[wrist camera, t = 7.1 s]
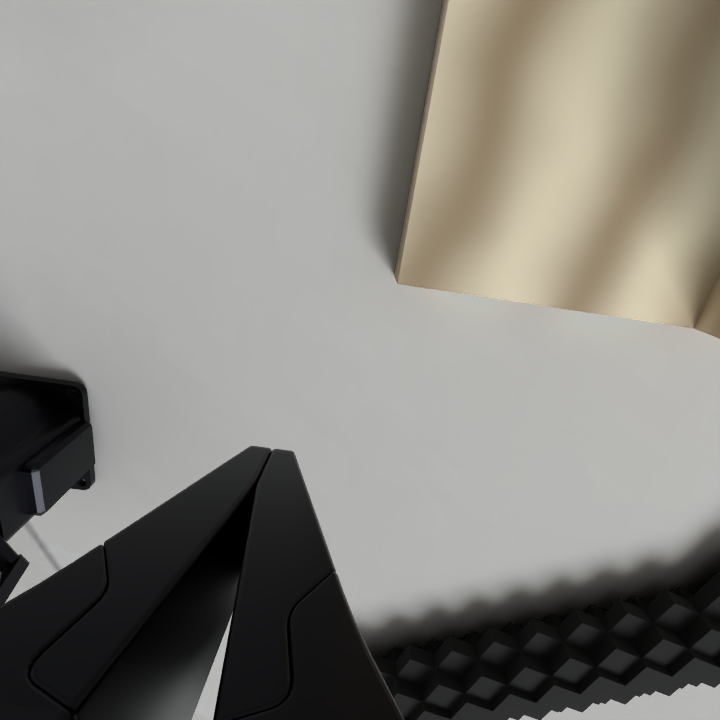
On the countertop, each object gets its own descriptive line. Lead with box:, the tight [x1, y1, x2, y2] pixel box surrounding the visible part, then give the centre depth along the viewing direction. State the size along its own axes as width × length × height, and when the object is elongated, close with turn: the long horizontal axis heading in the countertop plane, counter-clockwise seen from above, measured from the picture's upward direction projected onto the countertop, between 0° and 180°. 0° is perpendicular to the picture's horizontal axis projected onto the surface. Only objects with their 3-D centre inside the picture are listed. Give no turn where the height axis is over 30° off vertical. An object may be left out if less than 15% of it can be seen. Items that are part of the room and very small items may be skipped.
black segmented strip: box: [370, 571, 720, 720], centre depth 27 cm, size 11×40×4 cm, turn 108°
